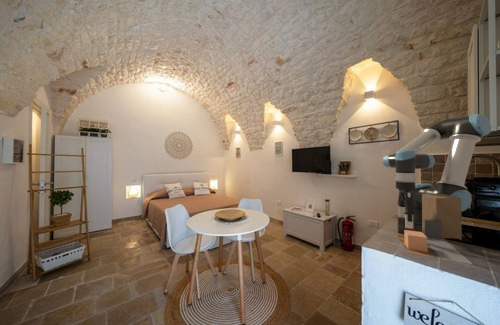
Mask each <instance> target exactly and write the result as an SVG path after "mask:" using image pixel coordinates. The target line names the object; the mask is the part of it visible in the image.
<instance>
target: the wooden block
mask: <svg viewBox="0 0 500 325" xmlns="http://www.w3.org/2000/svg"><path fill="white" fill-rule="evenodd" d="M423 219H425V220H435V221H441V222H442V238H443V239H458V240H460V241H462V212H461V198H458V197H454V196H449V195H445V194H422V225H421V227H422V228H421V229H422V230H421V232H423Z"/></svg>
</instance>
